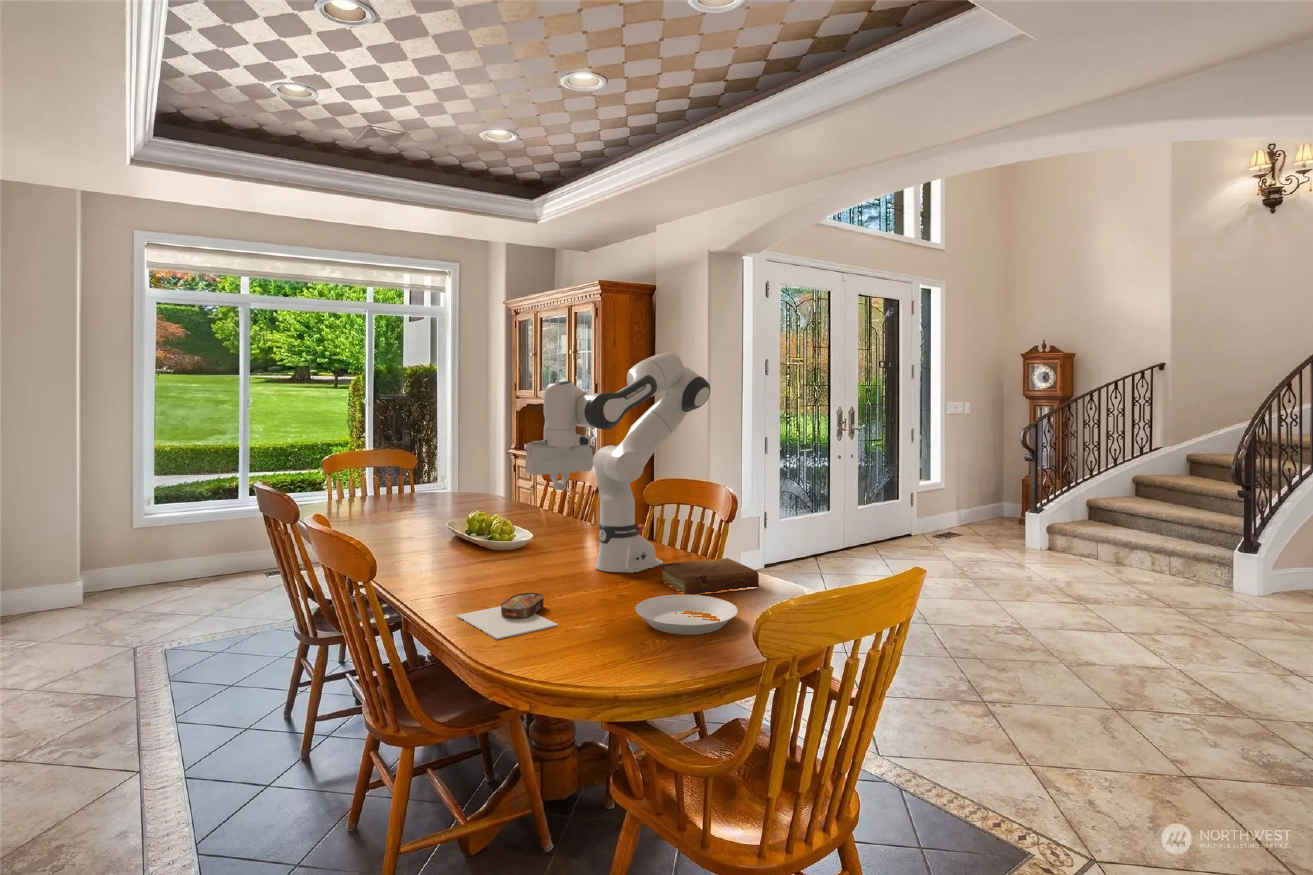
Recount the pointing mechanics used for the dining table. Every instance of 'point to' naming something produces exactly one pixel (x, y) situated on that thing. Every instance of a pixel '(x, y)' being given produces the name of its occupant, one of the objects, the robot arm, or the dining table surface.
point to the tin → (522, 605)
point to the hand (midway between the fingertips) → (559, 489)
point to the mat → (505, 623)
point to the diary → (708, 576)
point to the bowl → (664, 618)
